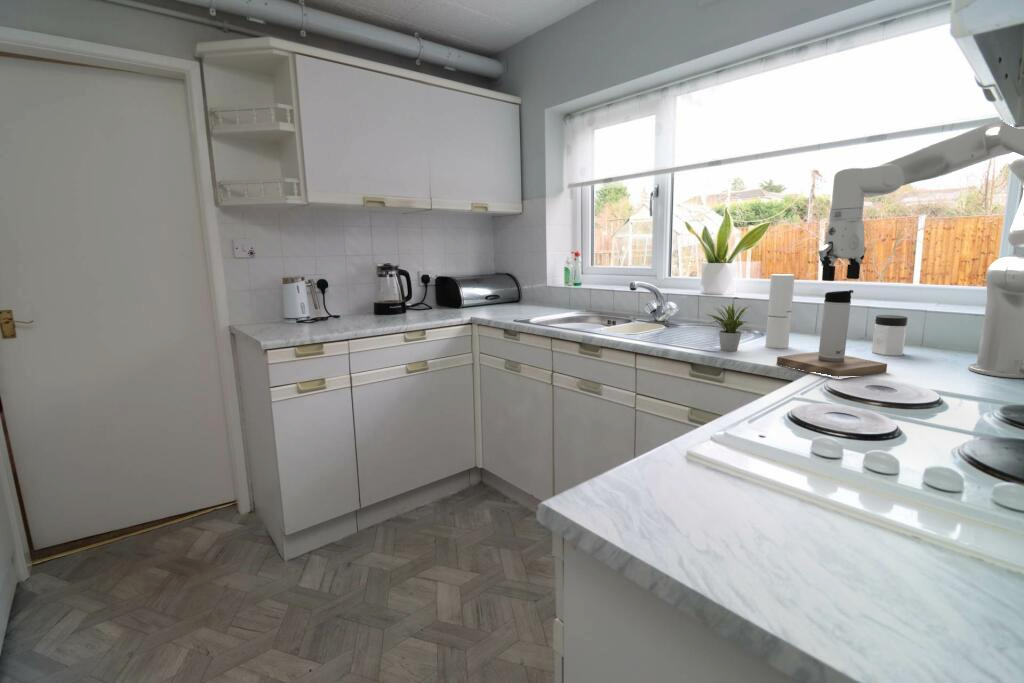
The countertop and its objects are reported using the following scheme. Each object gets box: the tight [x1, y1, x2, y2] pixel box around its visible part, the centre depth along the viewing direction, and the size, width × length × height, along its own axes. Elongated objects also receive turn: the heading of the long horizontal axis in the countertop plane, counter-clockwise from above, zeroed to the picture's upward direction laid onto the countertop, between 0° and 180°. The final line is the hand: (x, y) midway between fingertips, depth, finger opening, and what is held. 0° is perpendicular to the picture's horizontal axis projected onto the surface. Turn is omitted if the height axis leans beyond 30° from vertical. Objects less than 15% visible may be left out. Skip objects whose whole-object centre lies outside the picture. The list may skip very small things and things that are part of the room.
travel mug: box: [818, 289, 854, 362], centre depth 141 cm, size 6×7×20 cm
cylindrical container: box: [764, 273, 796, 349], centre depth 173 cm, size 7×7×25 cm
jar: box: [871, 314, 909, 356], centre depth 161 cm, size 9×8×12 cm
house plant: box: [706, 303, 752, 352], centre depth 170 cm, size 14×14×16 cm
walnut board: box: [776, 351, 888, 377], centre depth 143 cm, size 19×19×2 cm
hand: (840, 279), depth 138 cm, fingers open, 9 cm apart
